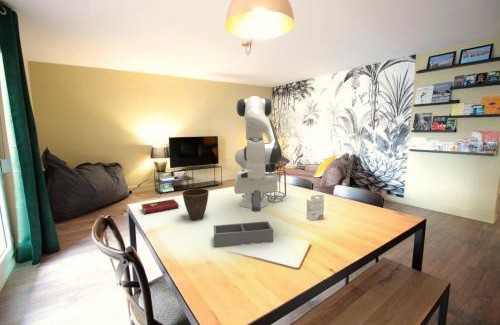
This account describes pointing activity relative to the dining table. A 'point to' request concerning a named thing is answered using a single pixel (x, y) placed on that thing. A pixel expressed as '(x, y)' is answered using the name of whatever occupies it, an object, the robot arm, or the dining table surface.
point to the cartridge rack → (242, 234)
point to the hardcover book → (159, 206)
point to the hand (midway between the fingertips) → (256, 201)
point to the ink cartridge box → (315, 207)
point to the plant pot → (196, 202)
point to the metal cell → (256, 201)
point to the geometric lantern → (279, 179)
